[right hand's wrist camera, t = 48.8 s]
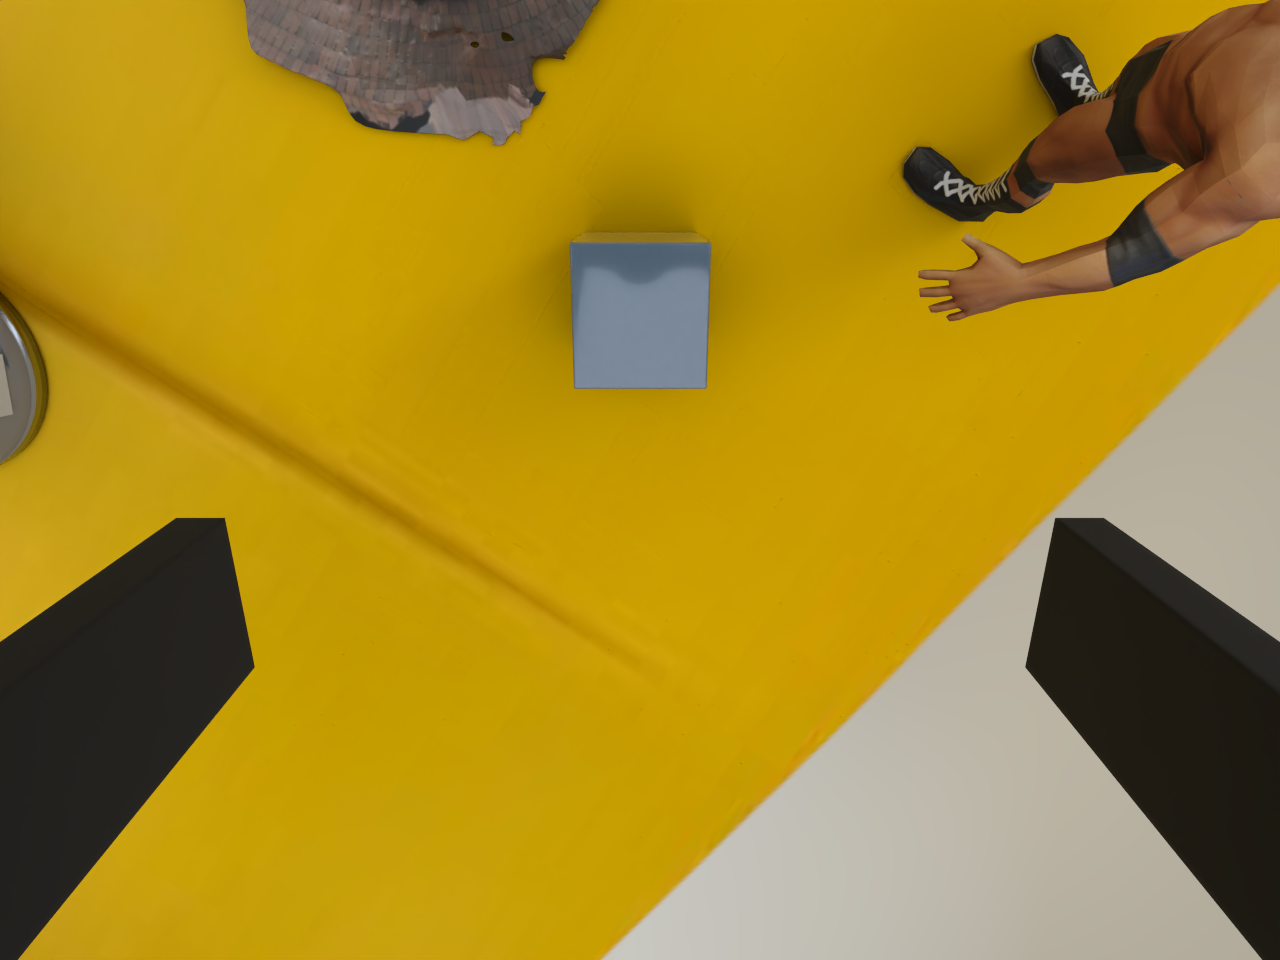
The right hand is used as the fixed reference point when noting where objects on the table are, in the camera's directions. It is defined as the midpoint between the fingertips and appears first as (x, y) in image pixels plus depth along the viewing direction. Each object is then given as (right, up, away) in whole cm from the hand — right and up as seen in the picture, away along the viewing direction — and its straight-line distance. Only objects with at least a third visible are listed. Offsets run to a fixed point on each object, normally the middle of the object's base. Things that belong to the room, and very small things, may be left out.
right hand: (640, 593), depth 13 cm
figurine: (+22, +23, +35) cm, 47 cm away
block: (0, +14, +38) cm, 41 cm away
